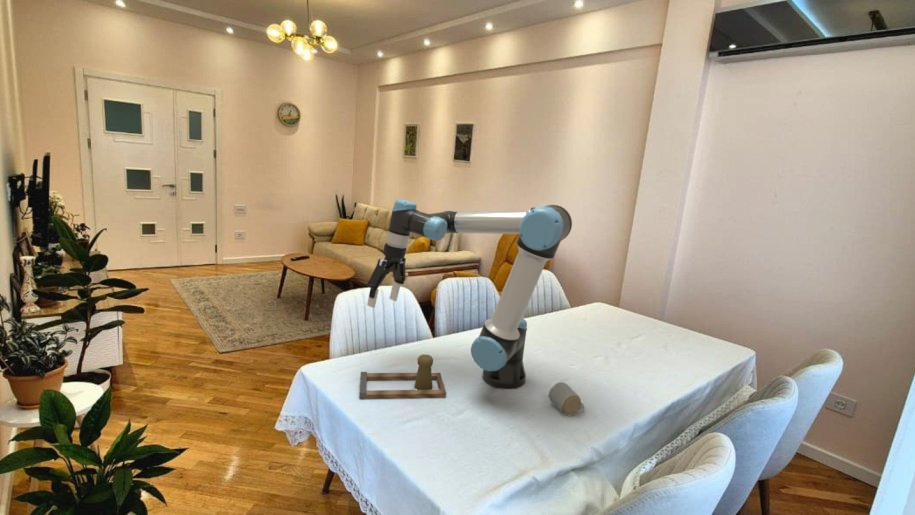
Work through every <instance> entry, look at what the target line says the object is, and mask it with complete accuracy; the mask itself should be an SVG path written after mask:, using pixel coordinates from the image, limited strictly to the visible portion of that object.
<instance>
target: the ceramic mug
mask: <svg viewBox="0 0 915 515" xmlns="http://www.w3.org/2000/svg"><path fill="white" fill-rule="evenodd" d="M548 399H549V401H550V402H551V404H552V405H554V406H555V407H556V409H558V410H559V411H560V412H561V413H562V414H563V415H566V416H573V415H575V414H577V413H578V412H580V411H581V412H582V411H584V409H585V404H584V403H583V402H582V399H581V398H580V396H579V394H578V393H576V392H575V391H574V390H573V388H572V387H570V385H568V384H567V383H565V382H558V383H556V384H554V385H553V386H552V387H551V389H550V390H549V392H548Z"/></svg>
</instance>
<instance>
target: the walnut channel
mask: <svg viewBox="0 0 915 515" xmlns="http://www.w3.org/2000/svg"><path fill="white" fill-rule="evenodd" d="M416 376H417V372H367V382H368V381H370V382H373V381H376V382H377V381H381V382H382V381H390V382H391V381H392V380H394V381H416ZM394 381H393V382H394ZM432 381H436V383H437V387H438V388H437V389H431V390H416V389H385V390H383V389H382V390H378V389H377V390H376V389H375V390H374V389H372V390H370V389H369V390H367V389H366V399H365V400H385V399H386V400H388V399H389V400H390V399H391V400H393V399H439V398H441V399H443V398H444V399H446V398H447V390H446V387H445V384H444V381H443V377H442V374H441V372H432Z"/></svg>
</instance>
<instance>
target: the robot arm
mask: <svg viewBox="0 0 915 515" xmlns="http://www.w3.org/2000/svg"><path fill="white" fill-rule="evenodd" d="M417 207H418V206H417V203H415V202H413V201H409V200H406V199H402V198H401V199H400V198H398V199H396V200H395V201H394V204H393V207H392V210H391V214H390V215H391V216H390V221H389V225H388V230H387V233H386V238H385V243H384V246H383V251H382V254H383V255H384V259H382V258H379V259H378V260H377V263H376V266H375V268H374V270H373V272H372V274H371V275H370V278H369V280H368V282H367V284H366V286H367V287H368V288H369V293H368V299H367V303H366V305H367V306H368V307H370V308H373V309H374V308H375V307H376V303H377V299H378V295H379V291H380V290H379V287H380V285H381V284H382V283H383V281H384V280H385V278H386V277H387V275H389V274H390V273H392V274H393V279H394V281H393V283H392V286H391V290H390V295H389V300H391V301H393V302H397V301H398V297H399V292H400V289H401V285H404V284H405V281H406V260H407V259H406V257H405V256H406V254H407V253H406V252H407V248H406V247H408V244H409V240H410V239H409V238H410V237H411V236H410V235H411V233H413V234H415V235H418V236H420V237H424V238H426V239H427V240H432V241H433V240H434V241H438V242H439V241H441V240H442V239H443V238H445V236H446V234H485V235H486V234H487V235H488V234H493V235H497V234H498V235H519V236H518V238H517V241H516V246H517V249H518V253H517V254H516V257H515V260H514V262H513V264H512V267H511V269H510V272H509V274H508V277H507V279H506V282H505V285H504V287H503V289H502V291H501V294H500V297H499V299H498V302H497V304H496V307H495V309H494V312H493V314H492V317H491V318H490V317H489V318H488V319H486V320H485V321H484V323H483V325H482V327H481V328H482V329H481V331H480V333H479V335H478V337H476V338H475V339H474V340H473V342H472V344H471V347H470V354H471V358H472V359H473V361H474V363H475V364H476V365H477V366H478V367H479V368H480V369H482V373H481V374H482V375H481V377H482V380H483V381H484V383H485V382H486V384H488V385H490V386H492V387H495V388H498V389H504V390H515V389H518V388H521V387H523V386H524V385H525V384H526V380H527V378H526V377H527V376H526V375H527V374H526V372H525V365H524V361H523V360H524V352H525V345H526V337H527V331H528V322H527V320H526V319H525V318H523V317H524V314H525V312H526V309H527V307H528V306H529V302H530V300H531V298H532V297H533V296H532V295H533V293H534V291H535V288H536V286H537V284H538V281H539V280H540V277H541V275H542V272H543V270H544V267H545V266H546V264H547V262H548V261H549V262H550V261H551V260H553V259H554V258H555V256H556V253H557V251H558V249H559V247H560V245H561V242H562V241H563V240H565V239H566V238H567V237H568V236H569V235H570V233H571V231H572V227H573V221H572V220H573V219H572V216H571V215H570V212H568V210H567V209H566V208H564V207H563V206H561V205H558V204H549V205H542V206H536V207H530V208H529V209H528V210H478V211H470V210H467V211H453V210H445V211H441V212H435V213H426V212H423V211H420V210H417Z"/></svg>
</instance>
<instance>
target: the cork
mask: <svg viewBox="0 0 915 515" xmlns="http://www.w3.org/2000/svg"><path fill="white" fill-rule="evenodd" d="M416 361H417V365H418V368H417V372H416V373H417V376H416V380H414V381H415V382H414V386H413V388H414V387H415V388H414V390H416V389H417V390H433V380H432V373H433V372H432V365H433V364H434V358H433V356H432V355H430V354H420V355H419V356H418V357H417V360H416Z"/></svg>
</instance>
